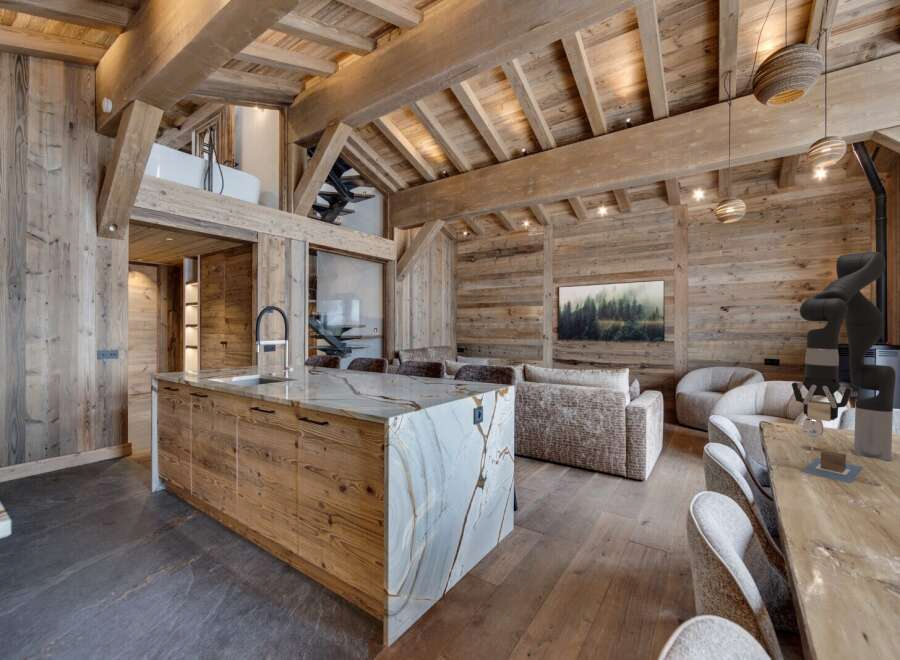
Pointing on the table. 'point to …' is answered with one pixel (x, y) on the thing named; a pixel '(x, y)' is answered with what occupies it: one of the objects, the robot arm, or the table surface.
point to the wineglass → (813, 428)
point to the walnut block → (833, 461)
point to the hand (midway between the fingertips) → (820, 417)
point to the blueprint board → (845, 476)
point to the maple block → (819, 410)
